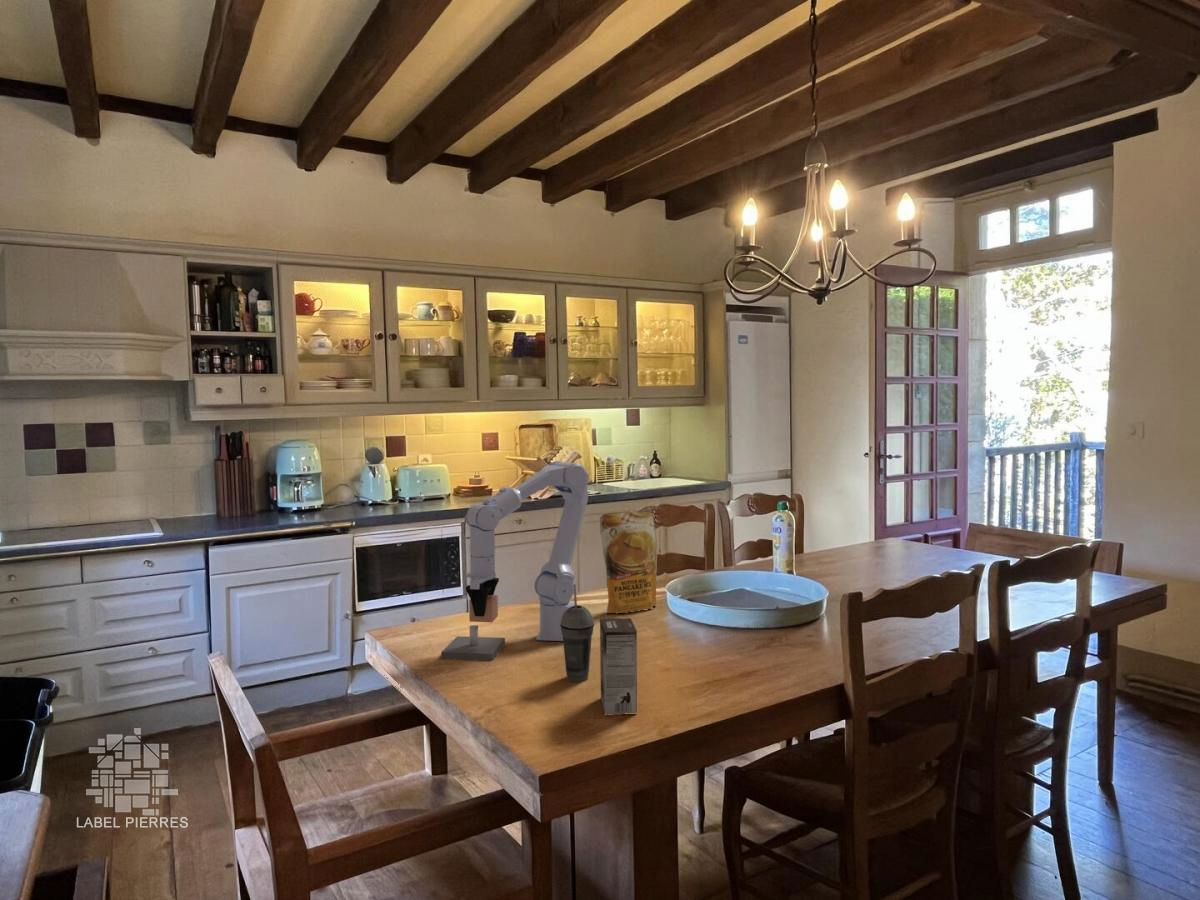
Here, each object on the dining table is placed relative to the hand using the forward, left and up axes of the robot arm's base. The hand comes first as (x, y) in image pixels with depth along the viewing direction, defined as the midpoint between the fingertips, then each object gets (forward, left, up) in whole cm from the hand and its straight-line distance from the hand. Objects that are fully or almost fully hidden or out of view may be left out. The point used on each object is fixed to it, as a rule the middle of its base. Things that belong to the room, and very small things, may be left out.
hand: (483, 612), depth 178 cm
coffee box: (-35, +28, -10) cm, 46 cm away
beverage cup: (-25, +14, -10) cm, 30 cm away
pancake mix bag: (-32, -41, -10) cm, 52 cm away
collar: (0, 0, -2) cm, 2 cm away
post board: (+2, -1, -10) cm, 10 cm away
